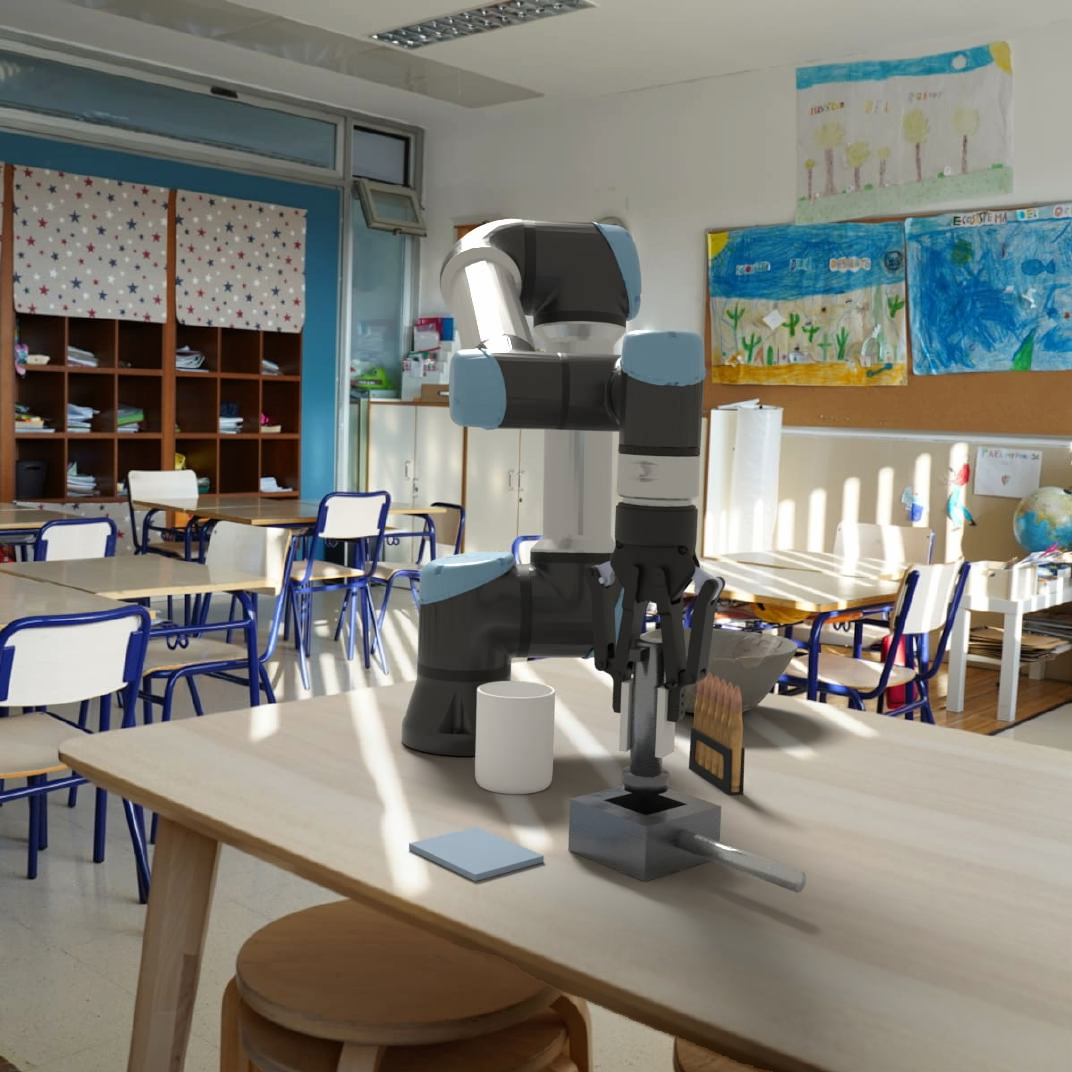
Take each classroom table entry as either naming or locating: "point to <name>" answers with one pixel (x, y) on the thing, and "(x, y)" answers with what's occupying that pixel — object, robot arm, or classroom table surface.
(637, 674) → the key
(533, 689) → the mug
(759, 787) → the classroom table surface
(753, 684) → the ceramic bowl
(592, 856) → the block
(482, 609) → the robot arm
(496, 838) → the mat
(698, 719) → the ammunition clip
